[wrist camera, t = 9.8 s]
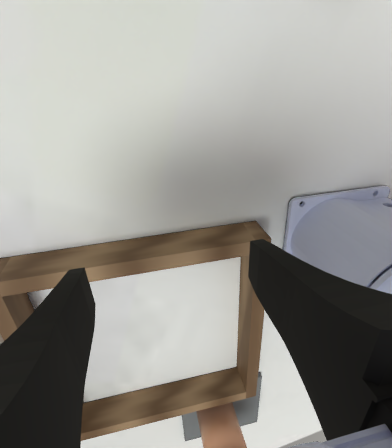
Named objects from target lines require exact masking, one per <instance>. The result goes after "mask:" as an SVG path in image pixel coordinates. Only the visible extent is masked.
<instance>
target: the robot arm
mask: <svg viewBox="0 0 392 448" xmlns="http://www.w3.org/2000/svg"><path fill="white" fill-rule="evenodd" d="M373 193H374V194H373ZM389 193H390V188H389V187H387V186H377V187H370V188H362V189H355V190H348V191H340V192H333V193H325V194H318V195H311V196H303V197H296V198H293V199H292V200H291V201H290V203H289V209H288V217H287V225H286V233H285V241H284V249H283V250H282V249H281V248H279V247H277V246H275V245H274V244H272V243H270V242H268V241H266V240H264V239H259V240H253V241H250V252H249V270H248V278H249V280H250V282H251V285H252V287H253V289H254V292H255V294H256V296H257V298H258V299H259V301H260V303H261V304H262V306H263V308H264V309H265V311H266V313H267V314H268V316H269V318H270V319H271V321H272V322H273V324H274V326H275V327H276V329H277V331H278V332H279V334H280V336H281V337H282V339H283V341H284V343H285V345H286V347H287V349H288V351H289V353H290V355H291V357H292V359H293V361H294V363H295V365H296V368H297V370H298V372H299V374H300V377H301V379H302V381H303V383H304V385H305V388H306V390H307V392H308V395H309V397H310V400H311V402H312V404H313V407H314V409H315V411H316V414H317V416H318V419H319V421H320V424H321V427H322V429H323V432H324V434H325V437H326V439H327V441H325V442H322V443H321V442H310V443H305V444H299V445H296V446H292V447H289V448H392V199H390V198H388V196H389ZM301 201H303V202H302V204H301V205H299V204H300V202H301ZM94 325H95V302H94V298H93V295H92V291H91V288H90V284H89V281H88V277H87V274H86V271H85V267H83V268H77V269H71V270H68V272H67V273H66V274H65V275H64V276H63V278H62V279H61V280H60V281H59V283H58V284H57V285H56V286H55V287H54V289H53V290H52V291H51V292H50V294H49V295H48V296H47V297H46V298H45V299H44V301H43V302H42V303H41V304H40V305H39V306H38V308H37V309H36V310H35V311H34V312H33V313H32V314H31V315H30V316H29V317H28V318H27V319H26V320H25V322H24V323H23V324H22V325H21V326H20V327H19V328H18V329H17V330H16V331H15V332H13V333H12V334H11V335H10V336H9V337H8V338H7V339H6V340H5V341H4V342H3V343H2V344H0V448H80V442H81V424H82V409H83V395H84V386H85V378H86V373H87V367H88V361H89V356H90V350H91V344H92V338H93V333H94Z"/></svg>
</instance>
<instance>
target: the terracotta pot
mask: <svg viewBox="0 0 392 448" xmlns="http://www.w3.org/2000/svg"><path fill="white" fill-rule="evenodd" d="M196 413H197V418H198V423H199V428H200V433H201V438H202V442H203V447H204V448H247V447H246V444H245V440H244V437H243V434H242V431H241V428H240V425H239V422H238V419H237V416H236V412H235V409H234V406H233V403H232V402H231V403H227V404H223V405H219V406H215V407H211V408H207V409H203V410H199V411H196Z"/></svg>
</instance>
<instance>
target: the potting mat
mask: <svg viewBox="0 0 392 448" xmlns="http://www.w3.org/2000/svg"><path fill="white" fill-rule="evenodd" d="M261 379H262V376H261V374H260V372H258V380H257V391H256V396H254V397H250V398H246V399H242V400H238V401H234V402H232V403H233V406H234V409H235V412H236V416H237V419H238V422H239V425H240V426H243V425H247V424H251V423H254V422H257V417H258V407H259V398H260V389H261ZM182 420H183V428H184V436H185V441H188V440H192V439H196V438H199V437H201V433H200V428H199V423H198V418H197V413H196V411H195V412H192V413H188V414H184V415H182Z"/></svg>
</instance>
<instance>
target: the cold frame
mask: <svg viewBox="0 0 392 448" xmlns="http://www.w3.org/2000/svg"><path fill="white" fill-rule="evenodd" d="M259 239H264V240H266V241H268V242H270V243H271V238H270V237H269V236H268V234H267V233H266V232H265V231H264V230H263V229H262V228H261V226H260V225H259V224H258V223H257V222H256V221H251V222H244V223H237V224H231V225H224V226H217V227H210V228H203V229H197V230H190V231H183V232H176V233H170V234H163V235H156V236H149V237H142V238H136V239H129V240H122V241H115V242H108V243H102V244H95V245H88V246H81V247H74V248H68V249H61V250H54V251H47V252H40V253H34V254H27V255H20V256H13V257H7V258H0V344H2V343H3V342H4V341H5V340H6V339H7V338H8V337H9V336H10V335H11V334H12V333H13V332H15V331H16V330H17V329H18V328H19V327H20V326H21V325H22V324H23V323H24V322H25V320H26V319H27V318H28V317H29V316H30V315H31V314H32V313H33V312H34V309H33V306H32V304H31V302H30V299H29V297H28V295H27V292H33V291H39V290H45V289H51V288H54V287H55V286H56V285H57V284H58V283H59V281H60V280H61V279H62V278H63V276H64V275H65V274H66V273H67V272H68V270H71V269H77V268H83V267H85V271H86V274H87V277H88V281H89V282H93V281H99V280H104V279H110V278H116V277H122V276H128V275H134V274H140V273H146V272H152V271H158V270H164V269H170V268H176V267H182V266H188V265H194V264H200V263H206V262H212V261H218V260H224V259H230V258H235V257H241V269H240V295H239V321H238V347H237V367H235V368H231V369H227V370H223V371H218V372H214V373H210V374H206V375H201V376H197V377H193V378H189V379H185V380H180V381H176V382H172V383H168V384H163V385H159V386H155V387H151V388H146V389H142V390H138V391H134V392H129V393H125V394H121V395H117V396H112V397H108V398H104V399H100V400H95V401H91V402H87V403H83V409H82V424H81V441H82V440H86V439H90V438H94V437H98V436H102V435H106V434H110V433H114V432H117V431H121V430H125V429H129V428H133V427H137V426H141V425H145V424H149V423H153V422H156V421H160V420H164V419H168V418H172V417H176V416H180V415H184V414H188V413H192V412H195V411H199V410H203V409H207V408H211V407H215V406H219V405H223V404H227V403H231V402H234V401H238V400H242V399H246V398H250V397H254V396H256V391H257V380H258V370H259V360H260V349H261V339H262V329H263V318H264V308H263V306H262V304H261V303H260V301H259V299H258V298H257V296H256V294H255V292H254V289H253V287H252V285H251V282H250V280H249V278H248V270H249V252H250V241H253V240H259Z"/></svg>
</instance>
